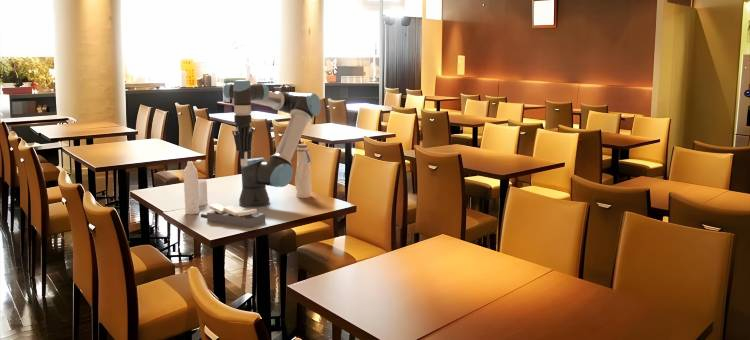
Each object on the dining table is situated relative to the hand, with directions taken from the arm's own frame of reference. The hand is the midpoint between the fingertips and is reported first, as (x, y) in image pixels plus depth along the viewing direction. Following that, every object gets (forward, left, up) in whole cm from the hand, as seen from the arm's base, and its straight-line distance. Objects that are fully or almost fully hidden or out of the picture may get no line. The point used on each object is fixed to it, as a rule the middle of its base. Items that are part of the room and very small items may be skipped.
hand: (244, 165), depth 282 cm
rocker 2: (+11, +2, -19) cm, 22 cm away
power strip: (+9, -2, -24) cm, 26 cm away
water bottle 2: (-48, +2, -24) cm, 53 cm away
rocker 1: (+11, -6, -19) cm, 23 cm away
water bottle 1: (+5, -26, -24) cm, 36 cm away
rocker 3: (+11, +10, -19) cm, 24 cm away
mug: (-7, -36, -24) cm, 44 cm away
